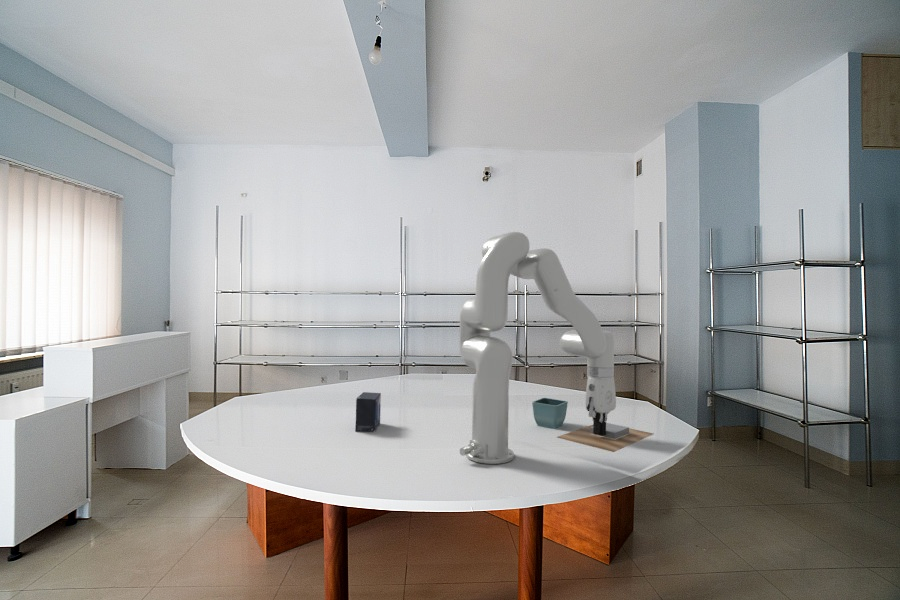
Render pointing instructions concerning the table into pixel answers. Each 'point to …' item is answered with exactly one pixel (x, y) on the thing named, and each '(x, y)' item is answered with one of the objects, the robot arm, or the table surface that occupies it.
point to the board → (604, 439)
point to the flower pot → (549, 412)
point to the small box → (368, 411)
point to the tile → (613, 431)
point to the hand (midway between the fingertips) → (599, 434)
